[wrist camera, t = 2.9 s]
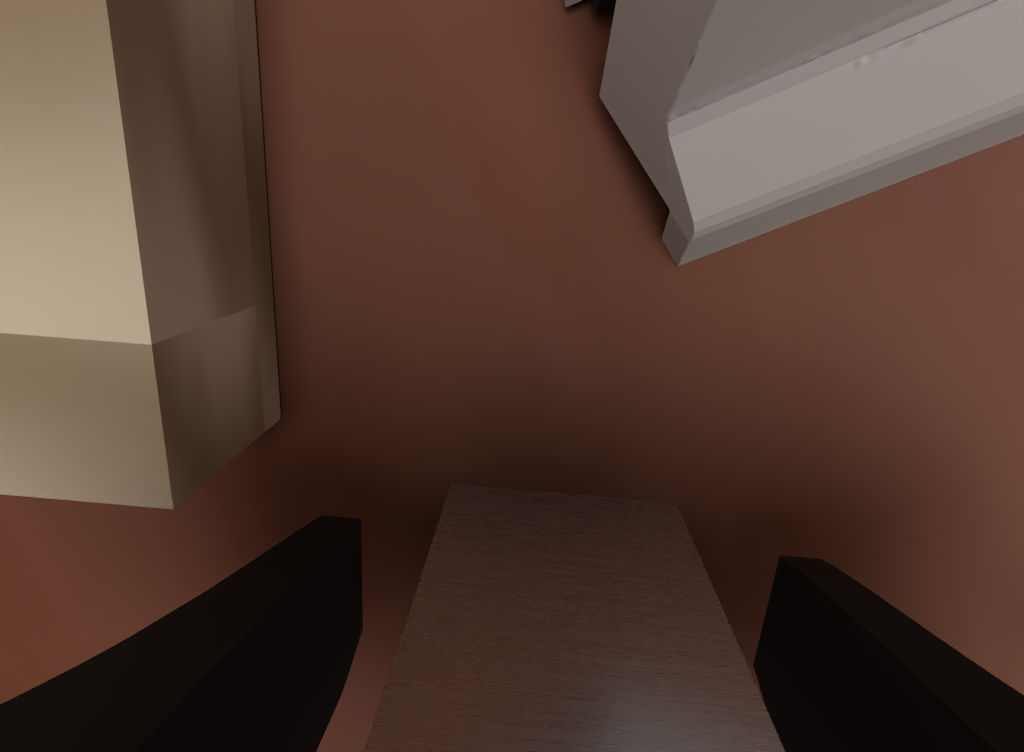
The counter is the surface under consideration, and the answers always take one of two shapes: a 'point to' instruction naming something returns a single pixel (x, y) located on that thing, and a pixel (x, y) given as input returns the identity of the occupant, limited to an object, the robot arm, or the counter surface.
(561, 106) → the counter surface
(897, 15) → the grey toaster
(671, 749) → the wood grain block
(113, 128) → the well block
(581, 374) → the counter surface
